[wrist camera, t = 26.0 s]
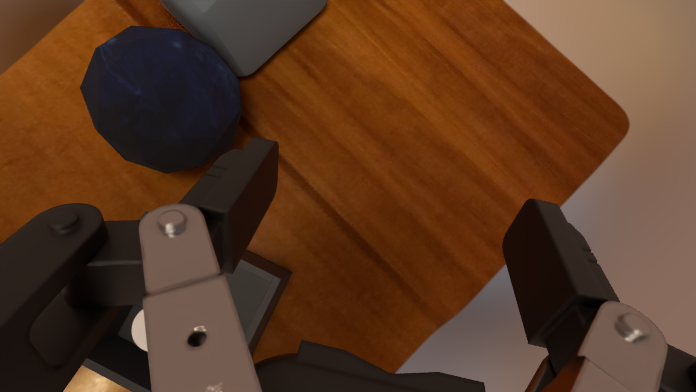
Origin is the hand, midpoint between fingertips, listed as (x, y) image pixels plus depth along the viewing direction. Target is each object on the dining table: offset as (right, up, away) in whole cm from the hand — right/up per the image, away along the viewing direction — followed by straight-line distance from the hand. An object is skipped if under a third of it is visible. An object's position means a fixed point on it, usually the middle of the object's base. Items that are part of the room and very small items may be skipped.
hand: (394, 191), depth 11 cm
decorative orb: (-20, +9, +32) cm, 39 cm away
